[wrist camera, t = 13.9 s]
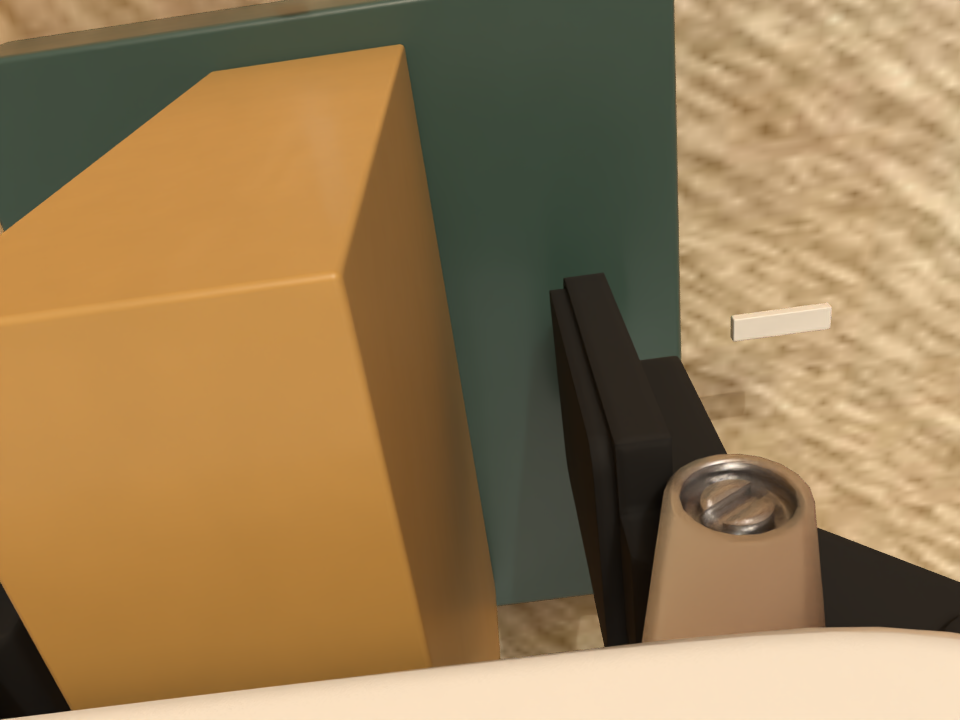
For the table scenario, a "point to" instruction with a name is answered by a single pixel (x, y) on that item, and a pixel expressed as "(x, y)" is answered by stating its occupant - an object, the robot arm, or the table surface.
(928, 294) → the table surface
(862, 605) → the robot arm
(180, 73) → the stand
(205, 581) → the tan upright flat block
